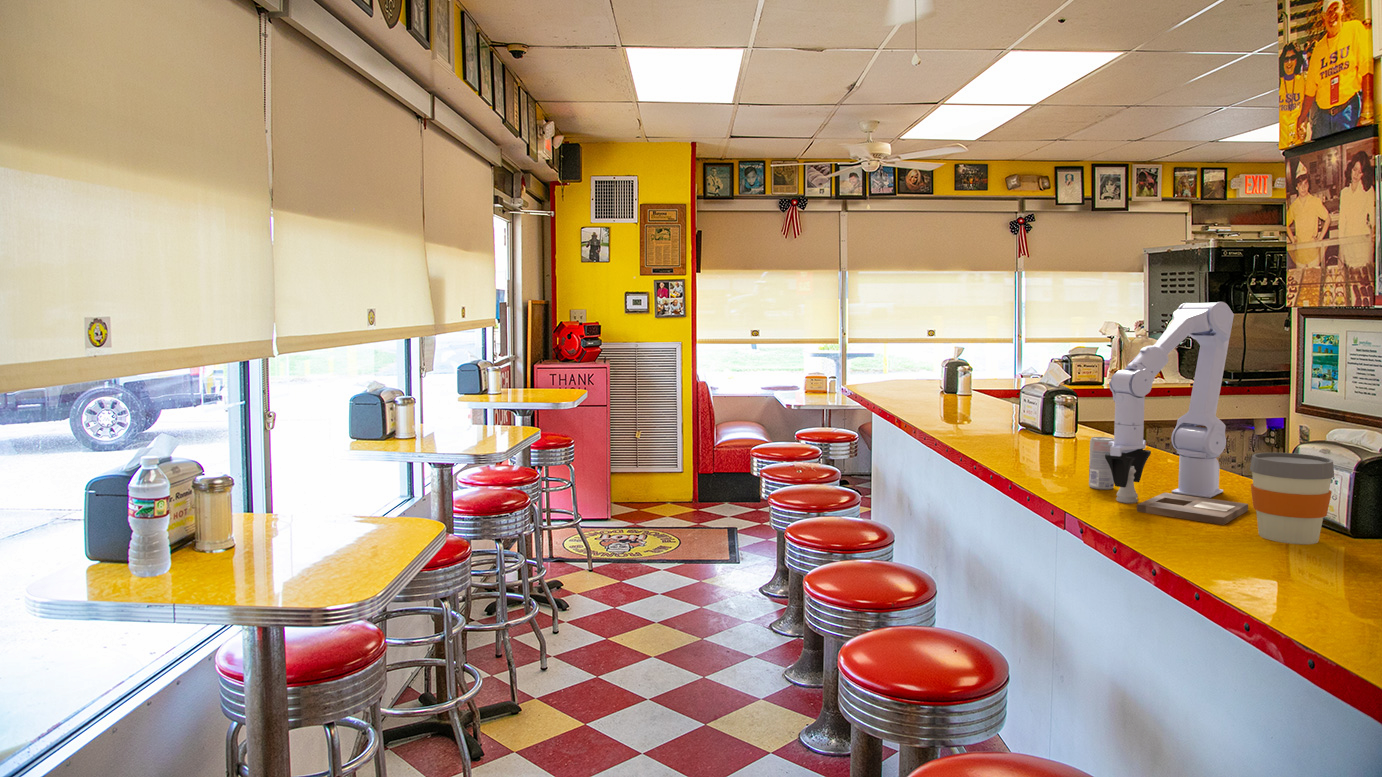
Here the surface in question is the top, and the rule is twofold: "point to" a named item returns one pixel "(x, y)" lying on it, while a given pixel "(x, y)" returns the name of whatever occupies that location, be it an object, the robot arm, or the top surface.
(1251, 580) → the top surface
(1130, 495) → the rook chess piece
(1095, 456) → the energy drink
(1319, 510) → the reusable coffee cup
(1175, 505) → the hole board
